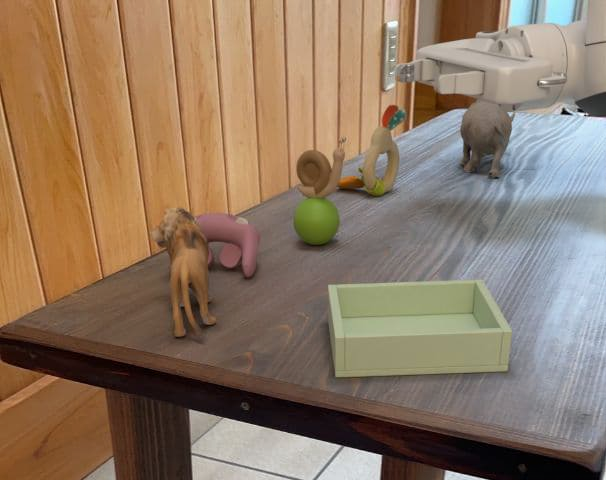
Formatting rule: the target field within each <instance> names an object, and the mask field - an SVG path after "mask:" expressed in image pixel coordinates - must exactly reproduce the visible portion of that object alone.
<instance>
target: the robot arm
mask: <svg viewBox="0 0 606 480" xmlns="http://www.w3.org/2000/svg"><path fill="white" fill-rule="evenodd" d="M394 79H395V81H397V82H399V83H404V84H405V83H414V82H417V83H421V84H424V85H427V86H431V87H433V91H434V92H435V93H437V94H440V95H453V94H457V95H463V96H466V97H470V98H474V99H476V100H478V99H480V100H484V101H487V102H491V103H494V104H498V105H499V106H500V107H501V108H502V109H503V110H504V111H507V112H508V113H514V112H515V113H517V112H524V111H533V110H542V109H548V108H551V107H553V106H555V105H557V104H564V105H569V106H577V107H578V109H580V110H581V111H583V112H584V113H586V114H587V115H589V116H590V117H604V116H606V0H587V10H586V19H580V20H575V21H572V22H570V23H568V24H565V25H561V24H558V23H554V22H544V23H543V22H541V23H532V24H531V23H530V24H517V25H511V26H508V27H506V28H503V29H500V30H487V31H486V30H485V31H478V32H477V33H476V34H475V37H473V38H465V39H458V40H453V41H446V42H440V43H435V44H431V45H430V44H429V45H427V46H423V47H421V48H419V49H417V50H416V52H415V60H412V61H410V62H403V63H398V64H396V65H395V68H394Z"/></svg>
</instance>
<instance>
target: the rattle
mask: <svg viewBox="0 0 606 480" xmlns="http://www.w3.org/2000/svg"><path fill="white" fill-rule="evenodd" d="M407 114H408V113H407V112H406V109H403V108H400V107H399V106H398V105H397V104H389V105H388V106H387V107H386V108H385V110H384V112H383V114H382V117H381V126H378V127H377V128H375V129H374V130H373V132H372V135H371V138H370V145H369V148H368V150H367V152H366V154H365V156H364V160H363V166H359V167H358V172H359V173H360V174H361V175H360V177H359V176H356V175H352V176H351V175H350V176H344V177H340V181H339V184H338V186H337V189H342V190H354V189H362V188H364V189H365V191H366V192H367V194H369V195H371V196H374V197H379V196H382V195H384V194H385V193H389V192H391V191H392V190H393V189H394V186H395V181H396V179H397V176H398V172H399V168H400V152H399V147H398V145H397V143H396V141H394V140H393V136H392V132H391V131H393V130H394V129H396V127H398V126H399V125H400V124H402V123H403V122H404V121H406V120H407ZM384 154H386V157H387V163H386V168H385V172H384V175H383V176H381V178H378V177H377V176H376V165H377V161H378V159H379V157H380V155H384Z"/></svg>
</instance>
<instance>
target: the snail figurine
mask: <svg viewBox="0 0 606 480" xmlns="http://www.w3.org/2000/svg"><path fill="white" fill-rule="evenodd" d="M346 141H347V137H346V136H342V137H339V138H338V143H339V144H340V147H336V148H335V149H334V150H333V152H332V160H333V163H332V166H331V163H330V161H329V159H328V158H327V156H326V155H325V154H324V153H323V152H321V151H319V150H316V149H308V150H306V151H304V152H303V153H302V154H300V156H299V157H298V160H297V162H296V166H295V167H296V169H295V170H296V175H297V179H298V180H299V182H300V183H301V184H297V185H296V188H297V190H298V191H299V193H301V195H302V196H303V197H305V198H304V199H303V200H302V201H300V203H299V204H298V205H297V207H296V209H295V211H294V213H293V227H294V230H295V233H296V234H297V236H298V237H299V238H300V239H301V240H302V241H303V242H304V243H306V244H309V245H313V246H322V245H324V244H326V243H329V242H330V241H331V240H333V238H334V237H335V236H336V234H337V233H338V230H339V227H340V222H341V221H340V219H341V218H340V214H339V210H338V208H337V207H336V205H335V203H334V202H332V201H331V200H330V199H328V198H327V197H329V196H331V195H332V194H334V193H335V191H336V190H337V189H338V187H337V186H338V184H339V181H340V178H342V172H343V164H344V160H345V158H346V151H345V146H343V147H342V144H344V143H345V142H346Z"/></svg>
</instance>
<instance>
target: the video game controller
mask: <svg viewBox="0 0 606 480" xmlns="http://www.w3.org/2000/svg"><path fill="white" fill-rule="evenodd" d="M193 216H194V215H193ZM194 218H195V221H196V222H197V223H198V224H199V226H200V227H201V230H202V233H203V235H204V236H205V237H206V239H207V245H208V248H209V256H208V268H210V267H211V266H212V265H213V264H214V262H215V253H214V251H213V249H212V248H211V246H210V243H225V244H226V245H224V247H223V248H221V251H220V254H219V261H220V263H221V265H223V266H224V267H225V268H227V269H230V270H235V269H237V268H238V267H240V265H241V267H242V272H243V275H244V277H245V278H248V279H250V278H251V277H252V276H253V275H254V273H255V270H256V267H257V262H258V255H259V244H260V241H261V233H260V232H259V229H258V228H257V227H256V226H255V225H254V224H253V223H251V222H250V221H248V220H247V219H245V218H244V217H241V216H237V215H233V214H230V213H223V212H206V213H205V212H204V213H202V214H198V215H195V216H194ZM171 266H172V264H171V262H170V258H169V257H168V268H169V272H170V273H171Z"/></svg>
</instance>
